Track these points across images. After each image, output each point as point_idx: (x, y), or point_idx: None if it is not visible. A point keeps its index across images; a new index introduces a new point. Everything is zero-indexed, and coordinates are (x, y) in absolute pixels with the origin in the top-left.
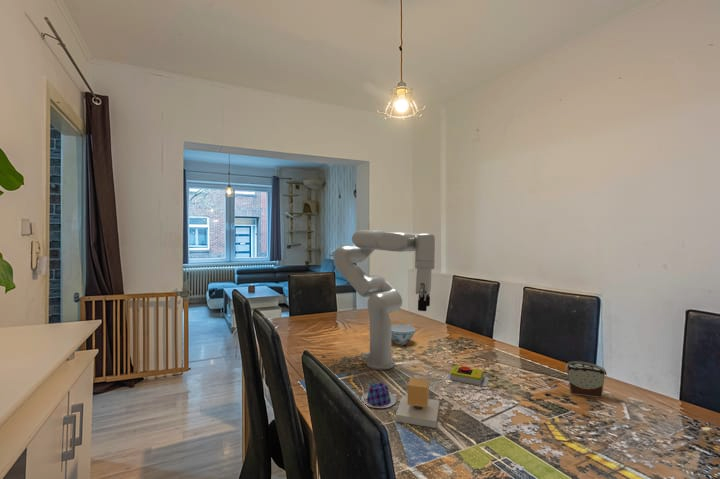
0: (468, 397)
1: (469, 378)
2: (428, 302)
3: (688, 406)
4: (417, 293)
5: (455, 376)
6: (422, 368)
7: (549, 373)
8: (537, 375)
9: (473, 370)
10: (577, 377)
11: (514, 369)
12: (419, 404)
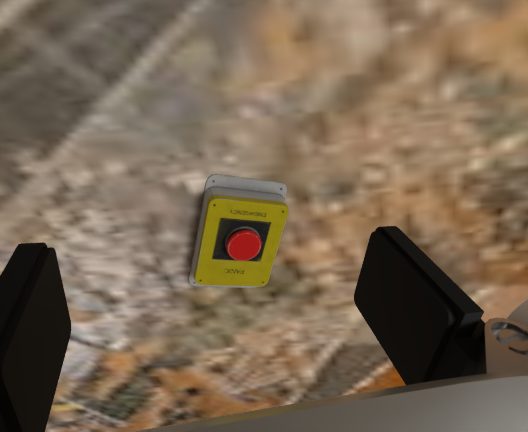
0: (83, 248)
1: (197, 252)
2: (374, 324)
3: None
4: (187, 422)
5: (205, 210)
6: (288, 74)
7: (319, 390)
8: (302, 373)
9: (255, 263)
10: None
11: (332, 334)
12: None
